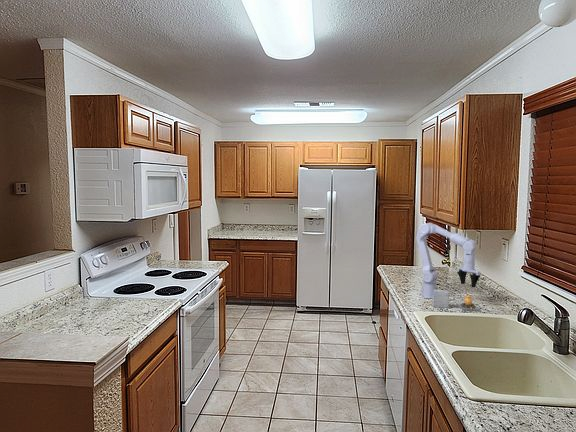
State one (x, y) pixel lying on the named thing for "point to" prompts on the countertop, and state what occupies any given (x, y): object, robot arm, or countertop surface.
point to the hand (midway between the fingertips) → (468, 285)
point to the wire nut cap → (468, 300)
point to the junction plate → (468, 307)
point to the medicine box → (440, 298)
